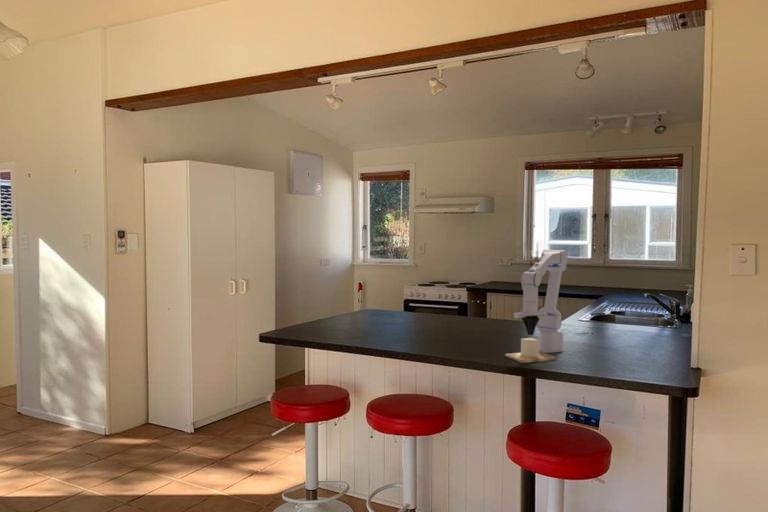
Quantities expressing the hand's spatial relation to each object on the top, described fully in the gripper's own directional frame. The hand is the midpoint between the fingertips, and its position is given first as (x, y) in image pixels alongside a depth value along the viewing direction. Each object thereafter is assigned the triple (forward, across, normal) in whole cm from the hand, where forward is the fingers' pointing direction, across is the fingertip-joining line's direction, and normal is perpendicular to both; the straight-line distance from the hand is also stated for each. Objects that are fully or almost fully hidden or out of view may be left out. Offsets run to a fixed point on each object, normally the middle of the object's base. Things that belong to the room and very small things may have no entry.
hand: (530, 334), depth 221 cm
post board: (+10, 0, 0) cm, 10 cm away
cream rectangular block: (+8, 0, 0) cm, 9 cm away
